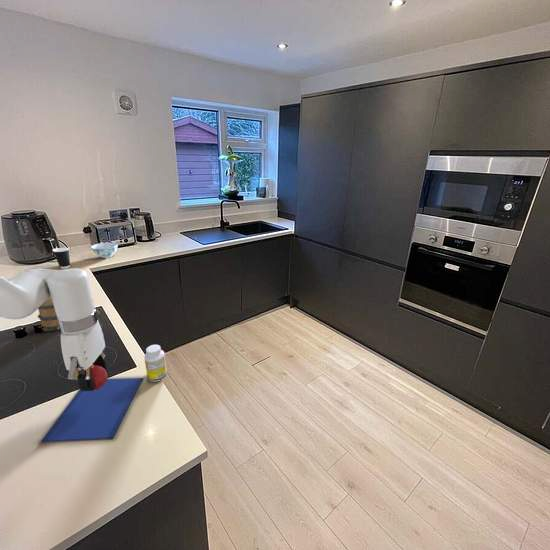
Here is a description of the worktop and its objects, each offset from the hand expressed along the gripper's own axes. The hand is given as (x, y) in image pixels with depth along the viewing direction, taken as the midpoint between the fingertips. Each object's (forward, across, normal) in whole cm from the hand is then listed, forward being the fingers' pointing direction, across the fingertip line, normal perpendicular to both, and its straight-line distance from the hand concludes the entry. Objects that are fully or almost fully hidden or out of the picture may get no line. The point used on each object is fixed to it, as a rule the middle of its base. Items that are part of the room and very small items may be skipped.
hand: (94, 380), depth 75 cm
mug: (+8, -43, -34) cm, 55 cm away
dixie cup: (+8, -108, -71) cm, 129 cm away
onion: (+3, 0, 0) cm, 3 cm away
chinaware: (+8, -128, -56) cm, 140 cm away
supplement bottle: (+8, -10, +12) cm, 18 cm away
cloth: (+8, +1, 0) cm, 8 cm away
